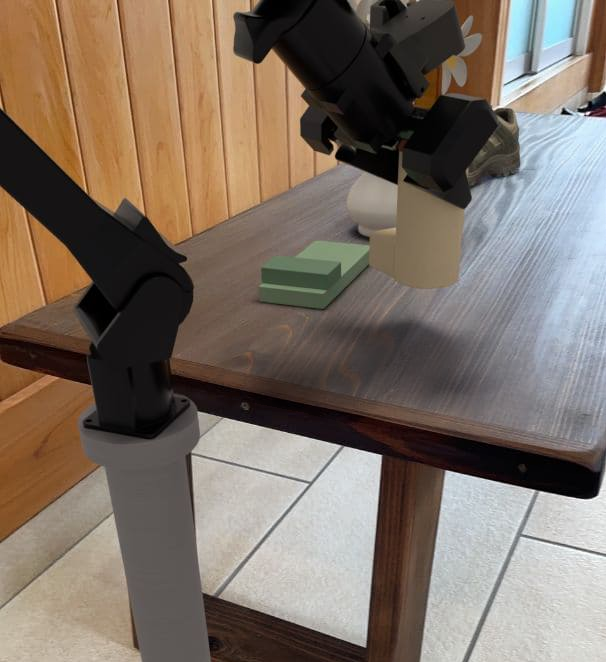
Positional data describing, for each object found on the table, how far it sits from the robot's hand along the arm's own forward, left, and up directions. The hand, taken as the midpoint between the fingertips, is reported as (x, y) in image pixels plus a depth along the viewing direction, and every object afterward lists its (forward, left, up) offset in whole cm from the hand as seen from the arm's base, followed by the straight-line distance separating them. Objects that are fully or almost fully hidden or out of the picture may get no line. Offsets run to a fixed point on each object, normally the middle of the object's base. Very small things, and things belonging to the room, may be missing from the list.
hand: (444, 196), depth 71 cm
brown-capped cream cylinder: (0, +2, -7) cm, 7 cm away
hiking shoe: (+58, +11, -13) cm, 61 cm away
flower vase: (+30, +14, -13) cm, 36 cm away
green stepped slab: (+11, +16, -12) cm, 23 cm away
